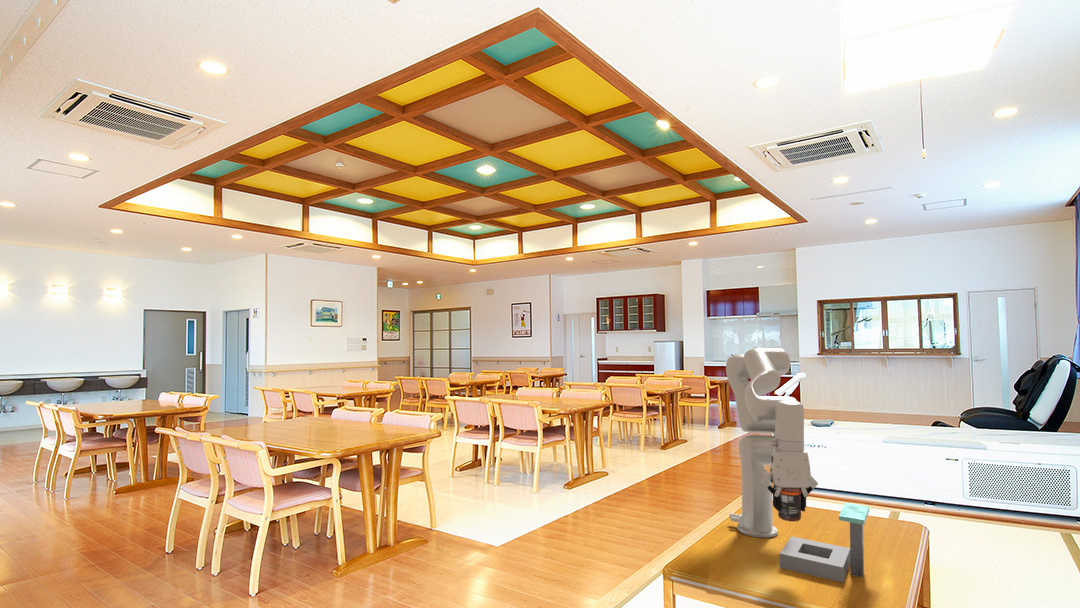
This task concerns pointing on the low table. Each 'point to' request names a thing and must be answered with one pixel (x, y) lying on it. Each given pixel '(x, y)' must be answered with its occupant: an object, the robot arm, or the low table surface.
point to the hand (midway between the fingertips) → (789, 509)
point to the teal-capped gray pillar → (855, 535)
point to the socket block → (815, 558)
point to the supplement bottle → (790, 504)
